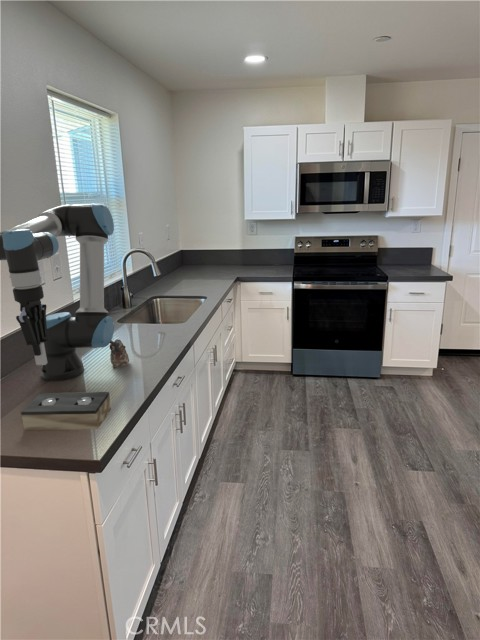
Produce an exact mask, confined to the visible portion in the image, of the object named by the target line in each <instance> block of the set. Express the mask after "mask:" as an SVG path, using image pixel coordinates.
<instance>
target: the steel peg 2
mask: <svg viewBox="0 0 480 640" xmlns="http://www.w3.org/2000/svg"><path fill="white" fill-rule="evenodd" d="M77 402H78V405H89V404H90V403H91V402H92V400H91V398H90V397H83V398H80V399H78V401H77Z"/></svg>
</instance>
